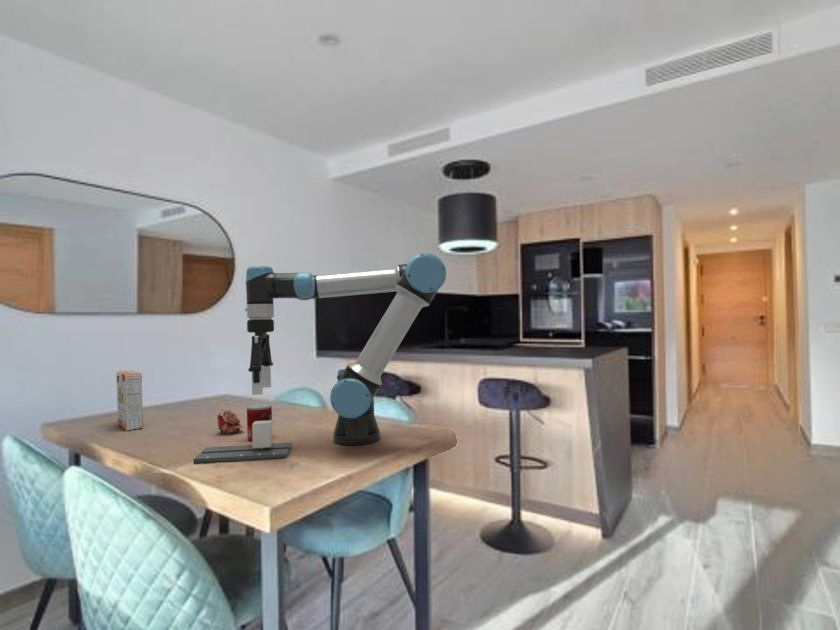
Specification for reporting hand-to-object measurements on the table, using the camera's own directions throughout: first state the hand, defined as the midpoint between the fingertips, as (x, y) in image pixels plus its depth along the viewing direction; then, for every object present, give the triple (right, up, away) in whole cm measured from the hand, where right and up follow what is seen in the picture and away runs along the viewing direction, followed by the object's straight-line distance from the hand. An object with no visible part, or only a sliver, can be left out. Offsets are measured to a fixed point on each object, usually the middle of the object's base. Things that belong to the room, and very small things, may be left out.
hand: (262, 390), depth 139 cm
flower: (-20, -19, +27) cm, 39 cm away
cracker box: (-63, -20, +39) cm, 77 cm away
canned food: (-7, -19, +18) cm, 27 cm away
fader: (0, -19, 0) cm, 19 cm away
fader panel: (-5, -19, -1) cm, 19 cm away
